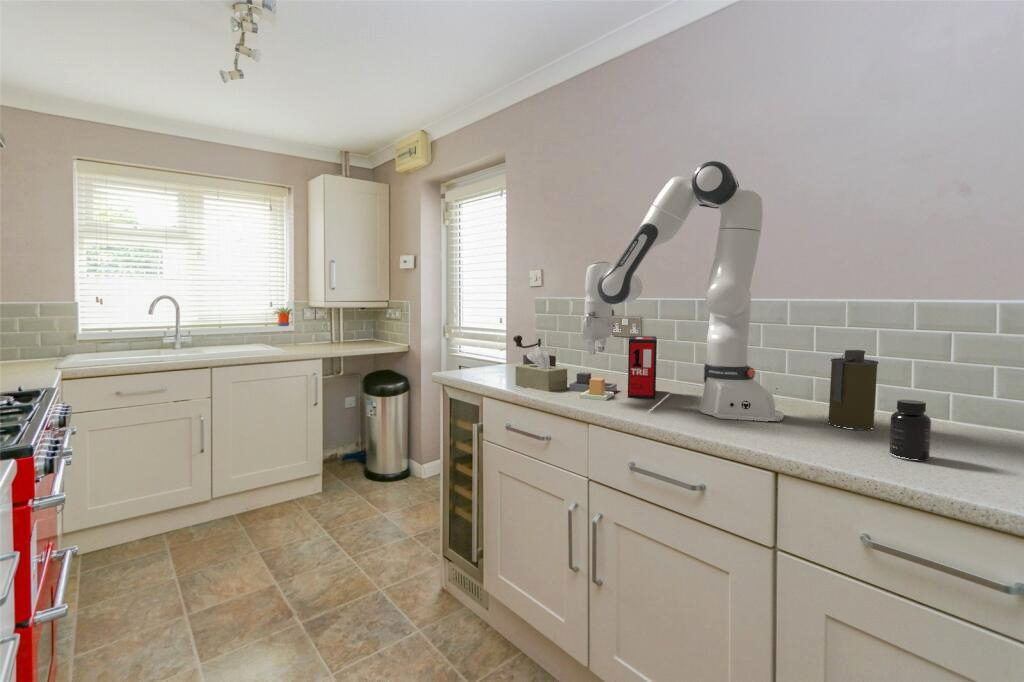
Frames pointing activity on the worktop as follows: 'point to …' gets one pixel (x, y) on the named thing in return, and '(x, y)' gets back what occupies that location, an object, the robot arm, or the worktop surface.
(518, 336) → the pepper mill
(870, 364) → the canister
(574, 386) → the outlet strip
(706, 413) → the robot arm
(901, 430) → the supplement bottle
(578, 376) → the black plug
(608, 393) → the tray
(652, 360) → the cleaning product box
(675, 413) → the worktop surface
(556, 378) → the tissue box
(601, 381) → the orange plug
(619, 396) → the worktop surface
